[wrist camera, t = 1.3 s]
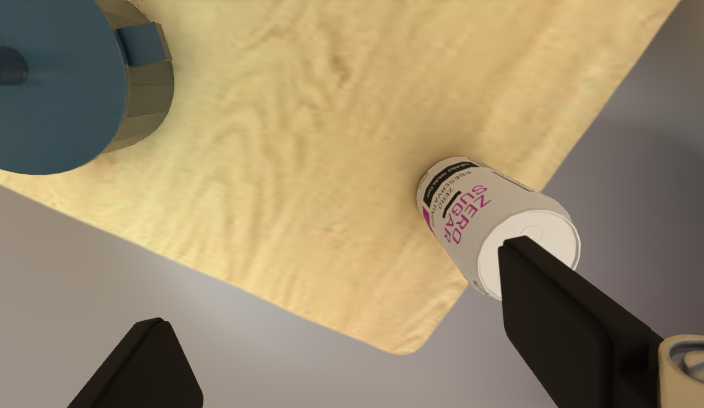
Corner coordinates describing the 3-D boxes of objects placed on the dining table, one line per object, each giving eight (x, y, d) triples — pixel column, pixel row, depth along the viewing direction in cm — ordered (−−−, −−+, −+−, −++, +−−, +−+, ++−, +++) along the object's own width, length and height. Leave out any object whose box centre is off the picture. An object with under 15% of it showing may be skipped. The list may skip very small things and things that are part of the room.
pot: (-52, 7, 29) (-195, -23, 21) (173, -37, 29) (115, -82, 21) (26, 164, 34) (-67, 189, 26) (222, 126, 34) (189, 139, 26)
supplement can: (485, 228, 39) (574, 310, 25) (411, 229, 39) (460, 312, 24) (496, 155, 37) (603, 200, 22) (417, 155, 36) (476, 200, 22)
